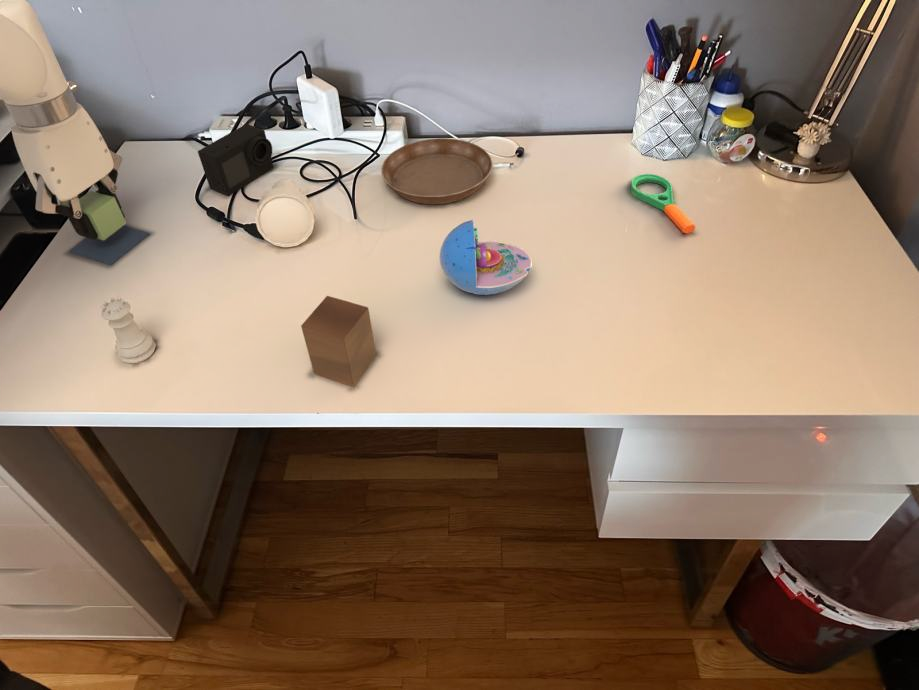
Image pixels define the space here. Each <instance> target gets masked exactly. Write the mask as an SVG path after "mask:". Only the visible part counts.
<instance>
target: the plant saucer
mask: <svg viewBox="0 0 919 690" xmlns="http://www.w3.org/2000/svg"><path fill="white" fill-rule="evenodd" d="M492 170H493V160H492V157H491V156H490V154H489V152H488V151H486V150H485V149H484V148H483V147H481V146H479V145H477V144H475V143H472V142H470V141H467V140H462V139H456V138H448V137H445V138H439V137H438V138H428V139H427V138H426V139H421V140H418V141H414V142H410V143H408V144H406V145H403V146H401V147H399V148H396V149H395V150H394V151H392V152H391V153H390V154H389V155H388V156H387V157H386V158H385V159H384V161H383V162H382V164H381V169H380V171H381V177H382V179H383V180H384V182H385V183H386V184H387V185H388V186H389V188H390V189H392V191H394V192H395V193H396V194H398V195H400V196H401V197H402V198H405V199H407V200H408V201H411V202H413V203H418V204H424V205H443V204H444V205H445V204H449V203H455V202H458V201H461V200H463V199H465V198H467V197H469V196H472V194H474V193H475V192H476V191H477V190H479V189H480V188H481V187H482V186H483V184H484V183H485V182H486V180H488V178H489V177H490V174H491V172H492Z"/></svg>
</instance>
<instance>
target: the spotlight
mask: <svg viewBox="0 0 919 690" xmlns="http://www.w3.org/2000/svg"><path fill="white" fill-rule="evenodd" d="M313 207H314V206H313V204H312V203H311V201H310V200H309V198H308V197H307V195H306V194H304V193H303V192H302V188H301V187H300V185H299V184H298V183H297V182H295V181H294V180H291V179H280V180H278V181H276V182H275V183H274V184H273V185H272V187H271V189H270V190H268V191H266V192H265V193H264V194H262V196H261V197H260V199H259V200H258V201H257V207H256V211H255V219H254V221H255V225H256V229H257V231H258V232H259V234H260V235H261V237H262V238H263V239H264V240H265V241H267V242H269V243H270V244H272V245H274V246H277V247H282V248H291V247H297V246H299V245H300V244H302V243H304V242H305V241H307V240H308V238H309V237H310V236H311V235H312V233H313V231H314V227H315V212H314V208H313Z"/></svg>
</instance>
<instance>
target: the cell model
mask: <svg viewBox="0 0 919 690" xmlns="http://www.w3.org/2000/svg"><path fill="white" fill-rule="evenodd" d="M474 223H475V222H474V220H473V219H470V220H467V221H463V222H462V223H460V224H458V225H457V226H456V227H454V228H452V229H451V230H450V232H448V234H447V235H446V236H445V238H444V239H443V241H442V244H441V246H440V249H439V264H440V267H441V270H442V272H443V274H444V275H445V277H446V278H447V279H448V280H449V282H450V283H451V284H452V285H454V286H455V287H456V288H458V289H460V290H462V291H463V292H467V293H468V294H469V293H470V294H474V295H479V296H481V295H482V296H489V295H496V294H499V293H503V292H506V291H508V290H510V289H512V288H514V287H515V286H517V285H518V284H520V283H521V282H522V281H523V280H524V279H526V277H527V276H528V274H529V272H530V270H531V268H532V264H533V261H532V258H531V256H530V255H529V253H527V252H526V251H525V250H524V249H523V248H524V247H522V246H519V247H518V246H517V245H513V244H510V243H505V242H499V241H479V232H478V227H475V225H474Z"/></svg>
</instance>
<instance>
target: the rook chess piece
mask: <svg viewBox="0 0 919 690" xmlns="http://www.w3.org/2000/svg"><path fill="white" fill-rule="evenodd" d="M100 307H101V315H100V316H101V318H103V319H104V320H107V321H108V326H109V327H110V328H112V330H113V332H114V334H115V336H116V340H115V343H116V344H115V351H116V354H117V357H118V359H119V360H120V361H121V362H123V363H128V364H130V365H131V364H139V363H142V362H144V361H146V360H148V359H149V358H151V356H152V355H153V354H154V352H155V350H156V346H157V345H156V341H155V340H154V339H153V337H152V336H151V334H150V333H148V332H147V331H145V330H143V329H142V328H140V327H139V325H138V324H137V323H136V322H135V320H134V314H133V313H132V312H130V311H131V308H132V306H131V303H130V302H128V301H125V300H124V299H123V298H122V297H119V296H117V297H116V299H115V297H110V298H109V302H108V301H106V300H104V301H103V303H102V306H100Z"/></svg>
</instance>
